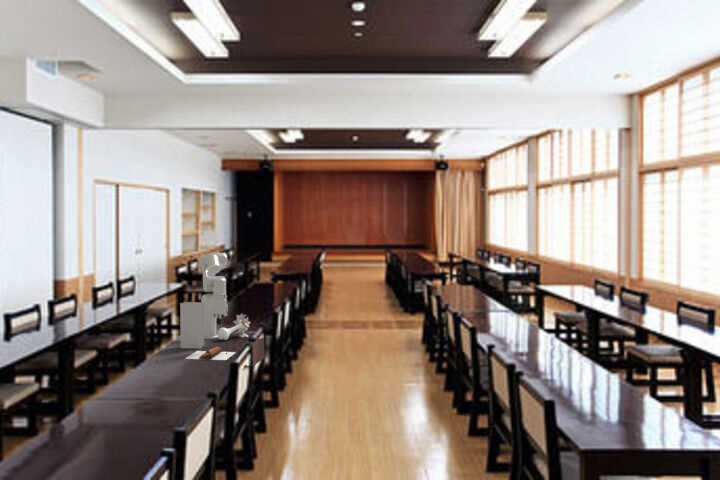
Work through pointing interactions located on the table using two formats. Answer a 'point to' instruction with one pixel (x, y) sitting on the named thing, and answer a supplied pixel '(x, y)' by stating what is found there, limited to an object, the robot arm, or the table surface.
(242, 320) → the flower vase
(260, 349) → the letter holder
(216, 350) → the sunglasses case
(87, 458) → the table surface
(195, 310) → the tall grey upright box
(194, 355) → the paper sheet
